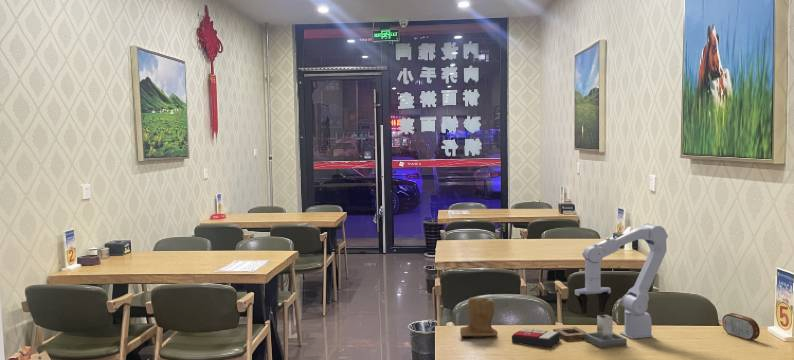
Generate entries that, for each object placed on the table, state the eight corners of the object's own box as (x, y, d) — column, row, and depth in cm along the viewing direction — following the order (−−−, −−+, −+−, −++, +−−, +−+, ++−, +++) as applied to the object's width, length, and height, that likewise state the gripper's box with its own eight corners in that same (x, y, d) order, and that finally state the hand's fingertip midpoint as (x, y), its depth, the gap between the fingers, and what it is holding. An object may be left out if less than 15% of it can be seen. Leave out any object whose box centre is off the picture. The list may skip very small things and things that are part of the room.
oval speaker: (760, 342, 235) (760, 319, 234) (754, 343, 234) (754, 320, 233) (726, 331, 249) (726, 310, 249) (720, 332, 248) (720, 311, 247)
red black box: (522, 326, 248) (559, 330, 239) (523, 337, 248) (560, 341, 239) (511, 333, 239) (549, 337, 230) (511, 345, 239) (549, 349, 230)
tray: (609, 337, 243) (609, 331, 243) (626, 345, 232) (626, 338, 232) (584, 339, 240) (584, 333, 240) (600, 348, 230) (600, 341, 230)
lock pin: (606, 338, 239) (606, 314, 239) (612, 341, 235) (612, 317, 235) (597, 338, 238) (597, 315, 238) (602, 341, 234) (602, 317, 234)
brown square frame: (575, 331, 251) (575, 326, 251) (589, 338, 242) (589, 333, 241) (553, 333, 249) (553, 328, 249) (565, 341, 239) (565, 335, 239)
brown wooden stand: (493, 330, 255) (493, 293, 254) (499, 339, 243) (499, 300, 242) (456, 331, 254) (456, 294, 254) (460, 340, 243) (460, 301, 242)
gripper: (603, 274, 249) (603, 308, 249) (570, 276, 245) (570, 311, 245) (613, 277, 242) (613, 312, 242) (580, 280, 238) (580, 315, 238)
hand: (592, 312), depth 243 cm, fingers open, 7 cm apart
